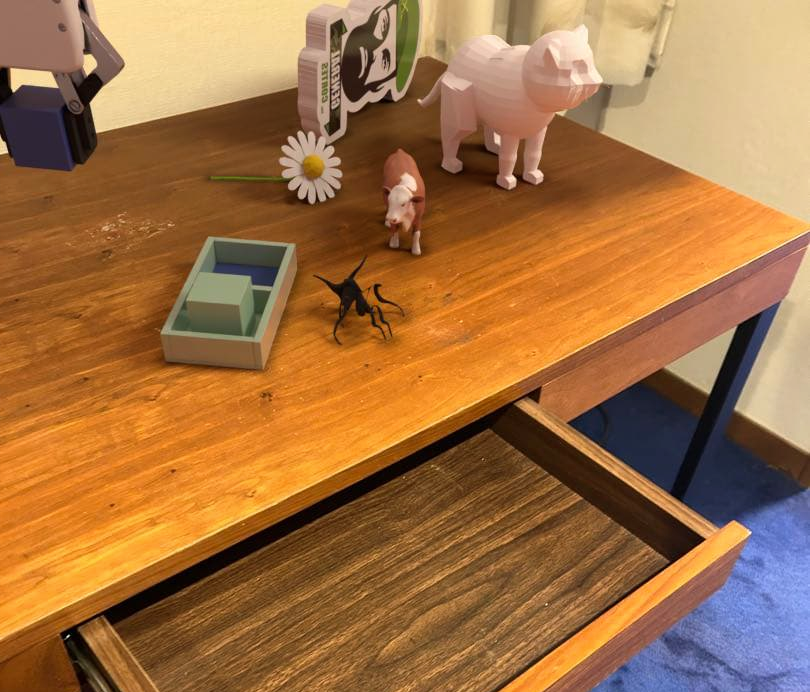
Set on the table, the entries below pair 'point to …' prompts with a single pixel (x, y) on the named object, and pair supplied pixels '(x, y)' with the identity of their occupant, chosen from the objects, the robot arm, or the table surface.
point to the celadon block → (221, 304)
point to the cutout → (355, 60)
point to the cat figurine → (512, 95)
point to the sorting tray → (270, 288)
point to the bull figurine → (403, 197)
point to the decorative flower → (306, 168)
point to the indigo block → (37, 128)
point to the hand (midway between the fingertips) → (52, 151)
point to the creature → (357, 299)
